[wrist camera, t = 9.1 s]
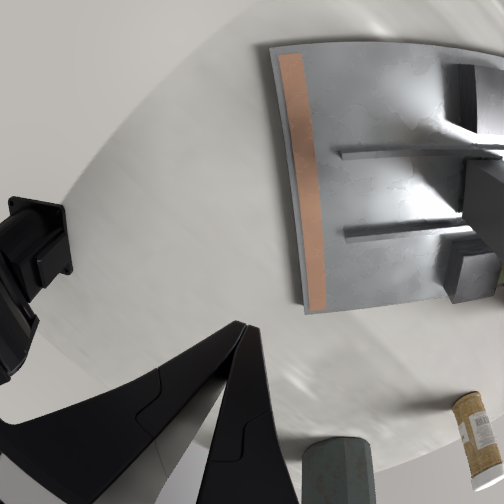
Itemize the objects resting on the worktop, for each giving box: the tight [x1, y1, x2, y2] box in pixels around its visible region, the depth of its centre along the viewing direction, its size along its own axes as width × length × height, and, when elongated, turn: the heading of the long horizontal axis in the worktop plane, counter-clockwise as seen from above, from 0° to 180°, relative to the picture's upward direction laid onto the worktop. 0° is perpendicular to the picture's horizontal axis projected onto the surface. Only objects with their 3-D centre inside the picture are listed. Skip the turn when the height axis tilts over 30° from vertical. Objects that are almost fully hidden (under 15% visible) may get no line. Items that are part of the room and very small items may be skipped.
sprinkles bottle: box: [452, 392, 504, 491], centre depth 25 cm, size 5×5×13 cm
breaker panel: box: [269, 42, 504, 315], centre depth 17 cm, size 18×18×3 cm
